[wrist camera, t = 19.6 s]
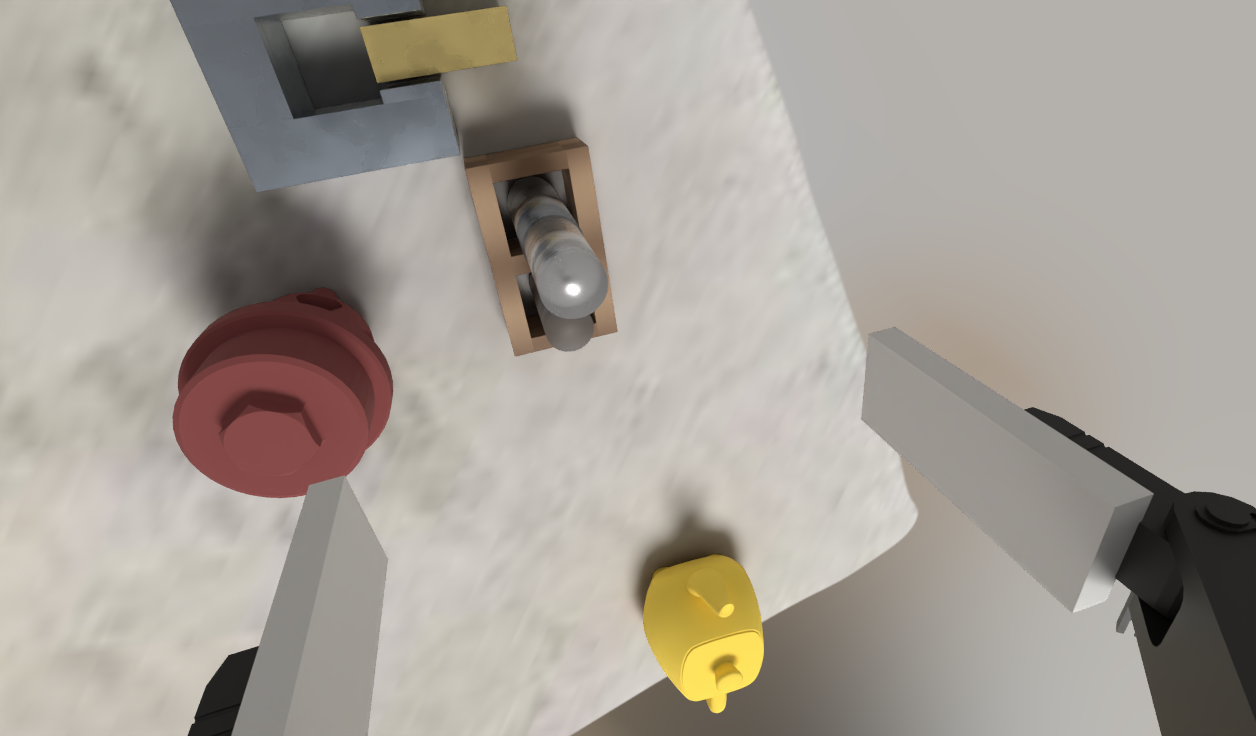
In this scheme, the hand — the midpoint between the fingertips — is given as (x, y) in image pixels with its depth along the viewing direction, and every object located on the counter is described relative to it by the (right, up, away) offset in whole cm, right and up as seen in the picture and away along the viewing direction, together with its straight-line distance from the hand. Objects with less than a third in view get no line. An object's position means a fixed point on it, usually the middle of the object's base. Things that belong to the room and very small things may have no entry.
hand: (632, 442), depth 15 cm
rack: (-6, +10, +24) cm, 27 cm away
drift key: (-10, +19, +17) cm, 28 cm away
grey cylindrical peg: (-6, +12, +23) cm, 27 cm away
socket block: (-16, +18, +17) cm, 29 cm away
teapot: (+6, -20, +45) cm, 49 cm away
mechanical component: (-20, +4, +24) cm, 31 cm away
